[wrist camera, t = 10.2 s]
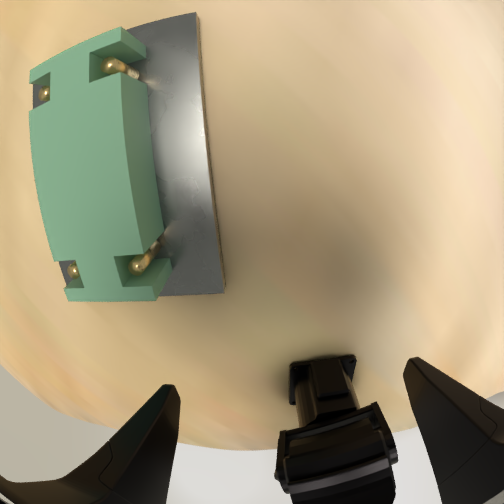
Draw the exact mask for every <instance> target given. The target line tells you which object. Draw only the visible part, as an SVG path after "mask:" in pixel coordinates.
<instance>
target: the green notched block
mask: <svg viewBox="0 0 504 504" xmlns="http://www.w3.org/2000/svg"><path fill="white" fill-rule="evenodd" d="M109 56H112V57H114V58H116V59H118V60H120V61H122V62H124V63H126V64H128V63H132V62H135V61H138V60H142V59H146V46H145V45H144V44H143V43H141V42H140V41H139V40H138V39H136V38H135V37H134V36H133V35H131V34H130V33H129V32H128V31H126V30H125V29H124V28H122V27H118V28H116V29H113V30H110V31H108V32H105V33H102V34H100V35H98V36H95V37H93V38H91V39H88V40H86V41H84V42H82V43H79V44H77V45H75V46H73V47H71V48H69V49H67V50H65V51H63V52H61V53H59V54H57V55H56V56H54V57H52V58H50V59H48V60H47V61H45V62H43V63H41V64H40V65H38V66H36V67H35V68H33V69H32V70H30V81H29V84H37V85H44V86H50V101H48V102H46V103H44V104H42V105H40V106H38V107H36V108H34V109H33V110H31V111H29V126H30V142H31V153H32V162H33V169H34V177H35V183H36V189H37V194H38V200H39V205H40V210H41V214H42V219H43V223H44V227H45V231H46V235H47V238H48V242H49V246H50V249H51V252H52V256H53V259H54V262H55V261H66V260H76V264H77V267H78V270H79V273H80V276H79V277H78V278H77V279H73V280H72V281H71V282H70V283H69V284H68V285H67V286H66V287H65V288H64V291H65V294H66V296H67V299H68V301H86V302H118V301H156V300H157V298H158V296H159V294H160V292H161V291H162V289H163V287H164V285H165V283H166V281H167V280H168V278H169V276H170V274H171V272H172V267H171V262H170V258H163V259H153V260H152V261H151V263H150V264H149V265H148V266H147V268H146V269H145V270H144V272H143V273H142V274H141V275H139V276H135V275H133V274H132V273H131V272H130V271H129V269H128V265H129V263H130V261H131V260H132V259H133V258H134V257H135V256H136V255H137V254H144V253H145V252H146V251H147V250H148V249H149V247H150V246H151V245H152V244H153V243H154V242H155V241H156V240H157V238H158V237H159V236H160V235H161V234H162V233H163V232H164V226H163V220H162V214H161V208H160V202H159V196H158V189H157V182H156V175H155V167H154V159H153V151H152V142H151V132H150V121H149V108H148V94H147V84H145V83H143V82H141V81H139V80H137V79H134V78H132V77H130V76H128V75H126V74H124V73H122V72H119V73H116V74H113V75H110V74H107V73H104V72H102V71H101V69H100V66H101V63H102V61H103V60H104V59H105V58H107V57H109Z"/></svg>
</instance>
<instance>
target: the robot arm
mask: <svg viewBox="0 0 504 504" xmlns="http://www.w3.org/2000/svg"><path fill="white" fill-rule="evenodd" d="M356 361H357V360H356V357H355V356H354V355H350V356H344V357H338V358H331V359H324V360H317V361H309V362H300V363H293V364H291V365H290V374H289V403H290V405H296V407H297V414H298V421H299V428H296V429H292V430H283V431H280V436H279V439H278V449H277V461H276V470H275V473H274V477H275V479H276V480H278V481H279V482H280V484H281V487H282V489H283V491H284V492H285V493H286V494H290V496H291V499H292V503H293V504H393V501H394V498H395V495H396V493H395V488H396V485H395V480H394V475H393V471H392V466H391V465H393V464H395V463H397V462H398V454H397V450H396V445H395V442H394V439H393V436H392V433H391V431H390V428H389V426H388V424H387V422H386V420H385V418H384V416H383V414H382V412H381V409H380V407H379V405H378V403H377V401H376V402H374V403H371V405H369V406H366V407H363V408H361V409H360V406H359V403H358V400H357V397H356V394H355V391H354V388H353V385H352V378H353V374H354V370H355V366H356ZM403 378H404V382H405V385H406V389H407V393H408V396H409V400H410V404H411V407H412V410H413V413H414V416H415V418H416V421H417V424H418V427H419V429H420V432H421V435H422V438H423V441H424V443H425V446H426V449H427V452H428V455H429V459H430V462H431V465H432V468H433V471H434V475H435V478H436V482H437V485H438V489H439V493H440V496H441V501H442V504H504V409H502V408H500V407H498V406H496V405H495V404H493V403H491V402H489V401H487V400H486V399H484V398H483V397H481V396H479V395H478V394H476V393H475V392H473V391H472V390H470V389H468V388H467V387H465V386H464V385H462V384H461V383H459V382H457V381H456V380H454V379H453V378H451V377H449V376H448V375H446V374H445V373H443V372H441V371H440V370H438V369H437V368H435V367H434V366H432V365H430V364H429V363H427V362H426V361H424V360H422V359H421V358H419V357H414V358H410V359H409V360H408V361H407V364H406V367H405V369H404V372H403ZM180 404H181V401H180V397H179V394H178V392H177V390H176V388H175V386H174V385H171V384H164V385H162V386H161V387H160V388H159V389H158V390H157V391H156V393H155V394H154V395H153V396H152V397H151V398H150V399H149V400H148V401H147V402H146V403H145V404H144V405H143V406H142V407H141V408H140V409H139V410H138V411H137V412H136V413H135V414H134V415H133V416H132V417H131V418H130V419H129V420H128V421H127V422H126V423H125V424H124V425H123V426H122V427H121V428H120V429H119V430H118V432H117V433H115V434H114V435H113V436H112V438H110V439H109V441H107V442H106V443H105V445H103V446H102V447H101V448H100V449H99V450H98V451H97V452H96V453H95V454H94V455H92V456H91V457H90V458H89V459H87V460H86V461H85V462H84V463H82V464H81V465H80V466H78V467H77V468H76V469H74V470H73V471H71V472H70V473H69V474H67V475H66V476H64V477H62V478H59V479H56V480H50V481H40V482H24V483H15V482H11V481H8V480H6V479H5V478H4V477H2V476H1V475H0V493H1V494H2V495H4V496H5V497H6V498H8V499H9V500H10V501H12V502H13V503H14V504H166V499H167V493H168V488H169V482H170V476H171V471H172V465H173V460H174V455H175V450H176V445H177V439H178V431H179V417H180ZM0 504H8V503H7V502H5V501H4V500H3V499H1V498H0Z"/></svg>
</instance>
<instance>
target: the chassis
mask: <svg viewBox="0 0 504 504" xmlns="http://www.w3.org/2000/svg"><path fill="white" fill-rule="evenodd" d="M126 31H128V32H129V33H130V34H131V35H133V36H134V37H135V38H136V39H138V40H139V41H140V42H141V43H143V44H144V45H145V46H146V59H142V60H138V61H135V62H132V63H128V64H126V63H124V62H122V61H120V60H118V59H116V58H114V57H112V56H109V57H107V58H105V59H104V60H103V61H102V63H101V66H100V69H101V71H102V72H104V73H107V74H110V75H113V74H116V73H119V72H122V73H124V74H126V75H128V76H130V77H132V78H134V79H137V80H139V81H141V82H143V83H145V84H147V94H148V108H149V121H150V132H151V142H152V151H153V159H154V167H155V175H156V182H157V189H158V196H159V202H160V208H161V214H162V220H163V226H164V232H163V233H162V234H161V235H160V236H159V237H158V238H157V240H156V241H155V242H154V243H153V244H152V245H151V246H150V247H149V249H148V250H147V251H146V252H145V253H144V254H137V255H136V256H135V257H134V258H133V259H132V260H131V261H130V263H129V265H128V269H129V271H130V272H131V273H132V274H133V275H135V276H139V275H141V274H142V273H143V272H144V270H145V269H146V268H147V266H148V265H149V264H150V263H151V261H152V260H153V259H163V258H170V262H171V267H172V272H171V274H170V276H169V278H168V280H167V281H166V283H165V285H164V287H163V289H162V291H161V292H160V294H159V296H177V295H198V294H217V293H225V287H226V283H225V276H224V269H223V262H222V254H221V247H220V239H219V231H218V223H217V215H216V207H215V199H214V190H213V181H212V172H211V163H210V153H209V143H208V133H207V122H206V111H205V100H204V87H203V74H202V60H201V45H200V28H199V18H198V16H197V13H196V12H194V13H189V14H184V15H179V16H174V17H170V18H166V19H162V20H158V21H154V22H150V23H147V24H143V25H140V26H137V27H134V28H130V29H127V30H126ZM48 101H50V86H44V85H37V84H33V109H34V108H36V107H38V106H40V105H42V104H44V103H46V102H48ZM59 264H60V267H61V270H62V273H63V276H64V279H65V282H66V285H68V284H69V283H70V282H71V281H72V280H73V279H77V278H78V277H79V276H80V273H79V270H78V267H77V264H76V260H66V261H59Z"/></svg>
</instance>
